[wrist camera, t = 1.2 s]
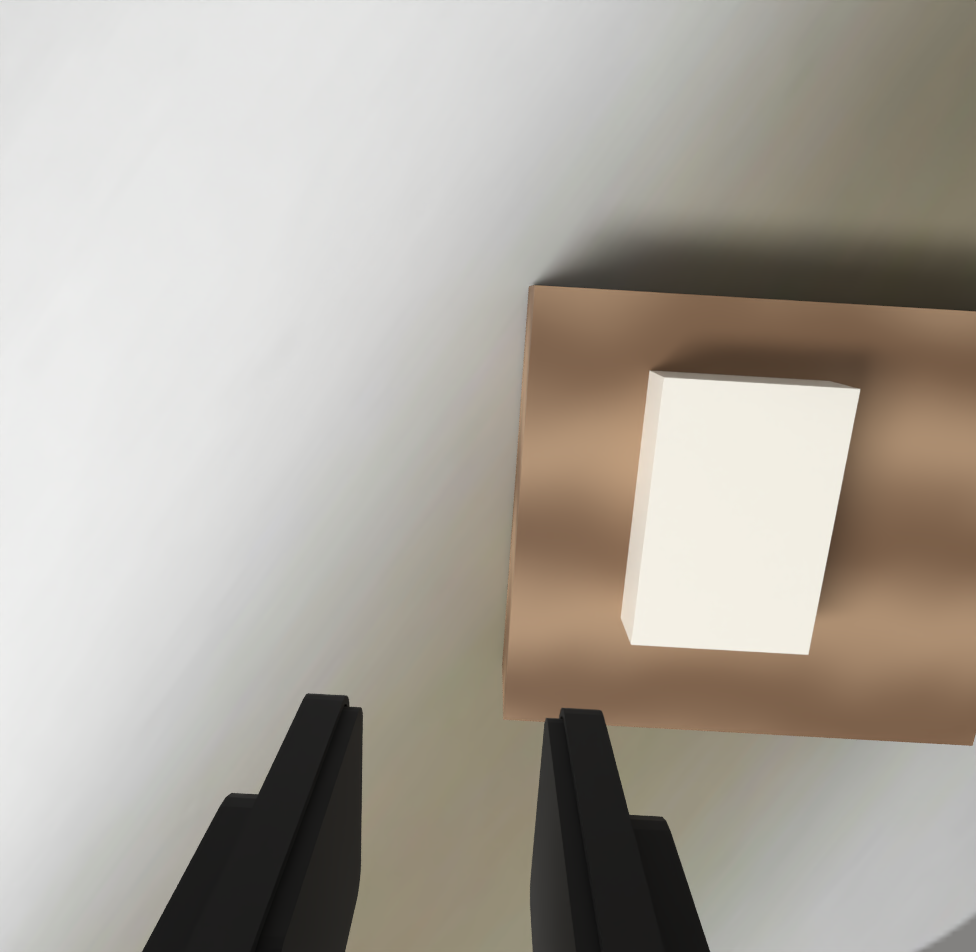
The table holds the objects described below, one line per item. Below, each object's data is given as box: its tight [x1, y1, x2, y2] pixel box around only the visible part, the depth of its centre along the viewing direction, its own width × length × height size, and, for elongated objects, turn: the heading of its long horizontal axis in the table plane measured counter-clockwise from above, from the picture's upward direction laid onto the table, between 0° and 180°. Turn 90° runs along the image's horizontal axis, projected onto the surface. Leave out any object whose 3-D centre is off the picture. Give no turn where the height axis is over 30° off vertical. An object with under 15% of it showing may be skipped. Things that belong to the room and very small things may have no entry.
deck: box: [502, 285, 976, 746], centre depth 26 cm, size 16×18×4 cm
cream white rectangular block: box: [621, 370, 860, 655], centre depth 23 cm, size 9×6×2 cm, turn 177°
